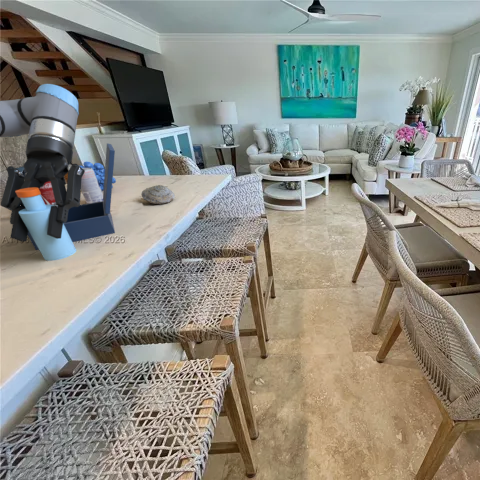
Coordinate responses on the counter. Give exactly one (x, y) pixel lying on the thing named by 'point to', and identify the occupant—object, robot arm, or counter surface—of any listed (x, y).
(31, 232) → the water bottle
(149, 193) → the fossilized seashell
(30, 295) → the counter surface
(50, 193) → the soda can
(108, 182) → the lid
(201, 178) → the counter surface
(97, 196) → the energy drink
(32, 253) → the counter surface
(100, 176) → the grapes
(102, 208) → the navy blue open box
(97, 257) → the counter surface
